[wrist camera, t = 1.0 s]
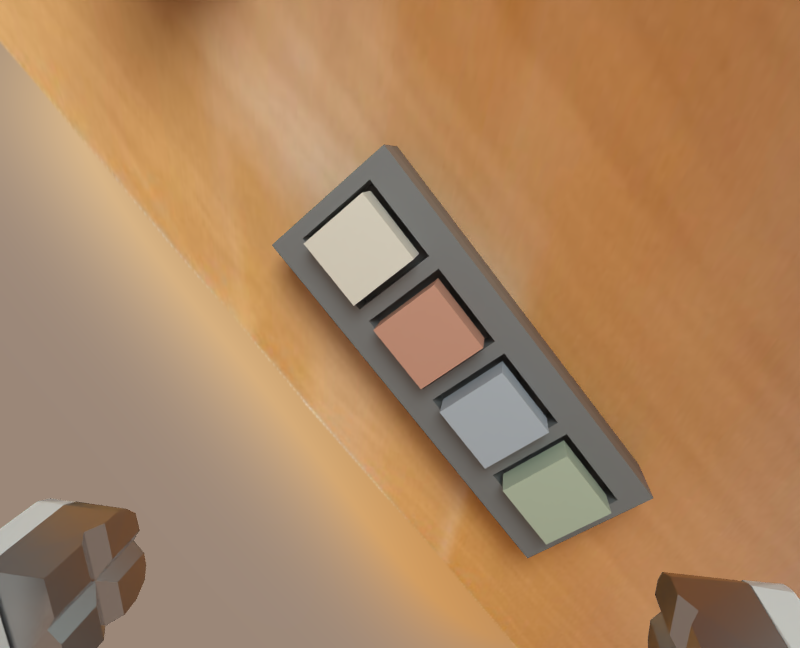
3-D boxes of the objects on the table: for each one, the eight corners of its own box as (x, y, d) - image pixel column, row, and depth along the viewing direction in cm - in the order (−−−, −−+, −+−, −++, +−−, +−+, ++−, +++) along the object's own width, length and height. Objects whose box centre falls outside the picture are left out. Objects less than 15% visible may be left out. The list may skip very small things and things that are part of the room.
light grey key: (546, 417, 35) (549, 432, 33) (486, 452, 36) (485, 468, 34) (502, 360, 34) (502, 372, 32) (443, 399, 36) (439, 412, 34)
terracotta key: (484, 337, 34) (483, 348, 32) (425, 377, 35) (420, 389, 34) (438, 278, 33) (434, 285, 31) (380, 321, 35) (373, 330, 33)
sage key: (606, 494, 35) (611, 513, 34) (544, 525, 37) (546, 544, 35) (563, 440, 35) (567, 456, 33) (503, 474, 36) (502, 490, 35)
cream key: (419, 253, 33) (413, 258, 31) (361, 298, 35) (353, 305, 33) (370, 190, 32) (362, 192, 30) (314, 239, 34) (303, 243, 32)
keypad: (638, 464, 38) (653, 498, 34) (525, 522, 41) (527, 558, 38) (397, 146, 35) (383, 144, 31) (294, 236, 38) (271, 245, 34)
